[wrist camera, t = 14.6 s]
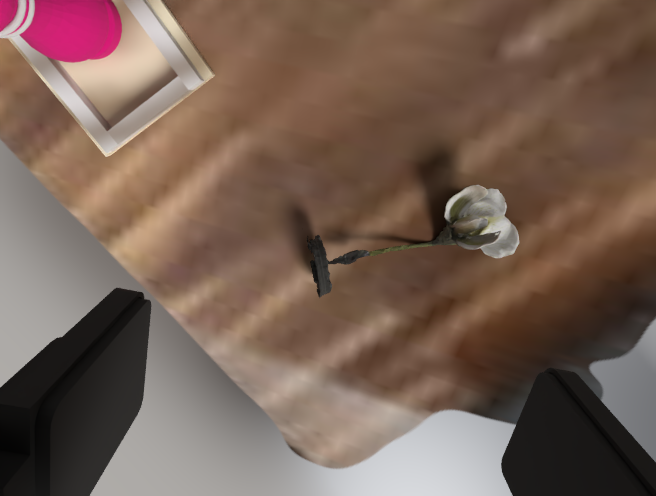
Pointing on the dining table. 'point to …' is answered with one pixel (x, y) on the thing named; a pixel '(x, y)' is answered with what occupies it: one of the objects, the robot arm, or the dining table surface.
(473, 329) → the dining table surface
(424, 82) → the dining table surface
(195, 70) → the rail board
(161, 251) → the dining table surface
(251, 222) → the dining table surface
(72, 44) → the pepper mill
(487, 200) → the artificial flower
